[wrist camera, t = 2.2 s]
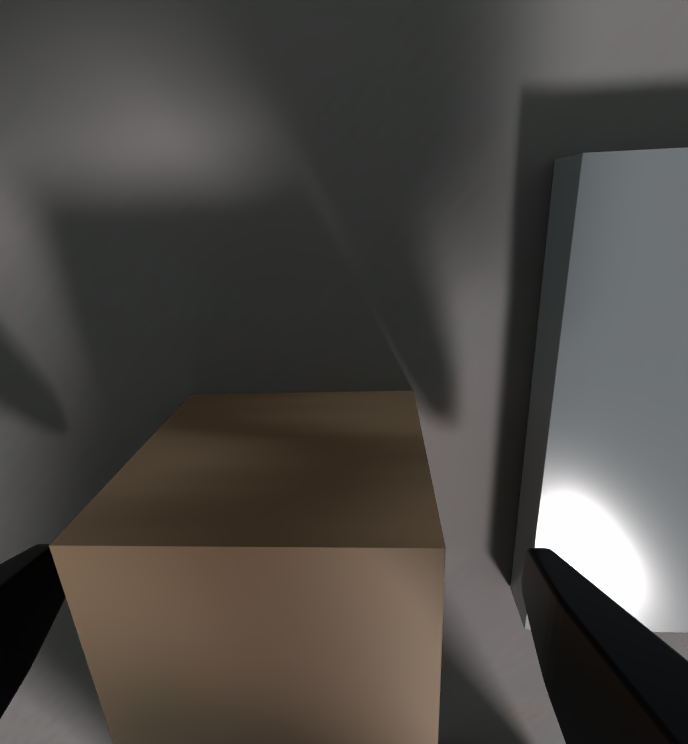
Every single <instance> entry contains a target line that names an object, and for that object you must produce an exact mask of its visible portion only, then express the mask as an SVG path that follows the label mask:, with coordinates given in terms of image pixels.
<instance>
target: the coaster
mask: <svg viewBox="0 0 688 744" xmlns="http://www.w3.org/2000/svg"><path fill="white" fill-rule="evenodd" d="M528 548H549V549H551V550H553V551H554V552H555V553H556V554H558V555H559V556H560V557H561V558H562V559H564V560H565V561H566V562H567V563H569V564H570V565H571V566H572V567H574V568H575V569H576V570H577V571H578V572H580V573H581V574H582V575H583V576H585V577H586V578H587V579H588V580H589V581H591V582H592V583H593V584H594V585H596V586H597V587H598V588H599V589H600V590H602V591H603V592H604V593H605V594H607V595H608V596H609V597H610V598H611V599H613V600H614V601H615V602H616V603H618V604H619V605H620V606H621V607H622V608H624V609H625V610H626V611H627V612H629V613H630V614H631V615H632V616H633V617H635V618H636V619H637V620H638V621H640V622H641V623H642V624H643V625H644V626H646V627H647V628H648V629H649V630H651V631H652V632H688V147H686V148H667V149H648V150H628V151H609V152H590V153H580V154H576V155H571V156H567V157H562V158H557V159H555V163H554V172H553V182H552V192H551V201H550V211H549V221H548V230H547V240H546V250H545V259H544V269H543V279H542V288H541V298H540V308H539V317H538V327H537V337H536V346H535V356H534V366H533V375H532V385H531V395H530V404H529V414H528V424H527V433H526V443H525V453H524V462H523V472H522V482H521V491H520V501H519V511H518V520H517V530H516V540H515V549H514V559H513V569H512V578H511V588H510V589H511V591H512V594H513V597H514V600H515V603H516V606H517V609H518V611H519V614H520V617H521V620H522V623H523V626H524V629H531V628H530V624H529V620H528V616H527V612H526V608H525V604H524V600H523V596H522V589H521V580H522V571H523V563H524V555H525V551H526V550H527V549H528Z"/></svg>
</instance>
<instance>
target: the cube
mask: <svg viewBox="0 0 688 744" xmlns="http://www.w3.org/2000/svg"><path fill="white" fill-rule="evenodd" d="M49 547H50V550H51V554H52V557H53V560H54V563H55V566H56V569H57V572H58V575H59V578H60V581H61V584H62V587H63V590H64V593H65V596H66V599H67V603H68V606H69V609H70V612H71V615H72V618H73V621H74V624H75V627H76V630H77V633H78V636H79V639H80V642H81V645H82V649H83V652H84V655H85V658H86V661H87V664H88V667H89V670H90V673H91V676H92V679H93V682H94V685H95V688H96V691H97V695H98V698H99V701H100V704H101V707H102V710H103V713H104V716H105V719H106V722H107V725H108V728H109V731H110V734H111V737H112V741H113V744H438V730H439V704H440V679H441V654H442V628H443V603H444V577H445V552H446V548H445V543H444V538H443V533H442V528H441V523H440V518H439V514H438V509H437V504H436V499H435V494H434V489H433V484H432V479H431V475H430V470H429V465H428V460H427V455H426V450H425V445H424V440H423V436H422V431H421V426H420V421H419V416H418V411H417V406H416V401H415V397H414V392H413V390H408V391H350V392H293V393H235V394H191V395H190V396H189V397H188V398H187V399H186V400H185V401H184V402H183V403H182V404H181V405H180V407H179V408H178V409H177V410H176V411H175V412H174V413H173V414H172V415H171V416H170V417H169V418H168V419H167V420H166V421H165V422H164V424H163V425H162V426H161V427H160V428H159V429H158V430H157V431H156V432H155V433H154V434H153V435H152V436H151V437H150V438H149V440H148V441H147V442H146V443H145V444H144V445H143V446H142V447H141V448H140V449H139V450H138V451H137V452H136V453H135V454H134V455H133V457H132V458H131V459H130V460H129V461H128V462H127V463H126V464H125V465H124V466H123V467H122V468H121V469H120V470H119V471H118V473H117V474H116V475H115V476H114V477H113V478H112V479H111V480H110V481H109V482H108V483H107V484H106V485H105V486H104V487H103V488H102V490H101V491H100V492H99V493H98V494H97V495H96V496H95V497H94V498H93V499H92V500H91V501H90V502H89V503H88V504H87V506H86V507H85V508H84V509H83V510H82V511H81V512H80V513H79V514H78V515H77V516H76V517H75V518H74V519H73V520H72V521H71V523H70V524H69V525H68V526H67V527H66V528H65V529H64V530H63V531H62V532H61V533H60V534H59V535H58V536H57V537H56V539H55V540H54V541H53V542H52V543H51V544H50V545H49Z"/></svg>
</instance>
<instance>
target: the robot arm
mask: <svg viewBox="0 0 688 744" xmlns="http://www.w3.org/2000/svg"><path fill="white" fill-rule="evenodd" d="M49 545H50V544H38V545H35V546H33V547H31V548H29V549H28V550H26V551H24V552H22V553H20V554H18V555H16V556H15V557H13V558H11V559H9V560H7V561H5V562H3V563H2V564H0V719H1V717H2V715H3V714H4V712H5V710H6V709H7V707H8V705H9V704H10V702H11V700H12V699H13V697H14V695H15V694H16V692H17V690H18V689H19V687H20V685H21V684H22V682H23V680H24V678H25V677H26V675H27V673H28V671H29V670H30V668H31V666H32V664H33V662H34V660H35V658H36V656H37V655H38V652H39V650H40V648H41V646H42V644H43V642H44V640H45V638H46V636H47V634H48V632H49V630H50V628H51V626H52V624H53V622H54V620H55V618H56V616H57V614H58V612H59V610H60V608H61V606H62V604H63V602H64V599H65V597H66V596H65V593H64V590H63V587H62V584H61V581H60V578H59V575H58V572H57V569H56V566H55V563H54V560H53V557H52V554H51V550H50V547H49ZM521 589H522V596H523V600H524V604H525V608H526V612H527V616H528V620H529V624H530V628H531V632H532V636H533V640H534V644H535V648H536V652H537V656H538V660H539V664H540V668H541V672H542V676H543V679H544V683H545V686H546V689H547V692H548V695H549V698H550V701H551V703H552V706H553V709H554V712H555V714H556V717H557V720H558V723H559V726H560V728H561V731H562V734H563V737H564V739H565V742H566V744H688V661H687V660H686V659H685V658H684V657H682V656H681V655H680V654H679V653H678V652H676V651H675V650H674V649H673V648H671V647H670V646H669V645H668V644H666V643H665V642H664V641H663V640H662V639H660V638H659V637H658V636H657V635H655V634H654V633H653V632H652V631H651V630H649V629H648V628H647V627H646V626H644V625H643V624H642V623H641V622H640V621H638V620H637V619H636V618H635V617H633V616H632V615H631V614H630V613H629V612H627V611H626V610H625V609H624V608H622V607H621V606H620V605H619V604H618V603H616V602H615V601H614V600H613V599H611V598H610V597H609V596H608V595H607V594H605V593H604V592H603V591H602V590H600V589H599V588H598V587H597V586H596V585H594V584H593V583H592V582H591V581H589V580H588V579H587V578H586V577H585V576H583V575H582V574H581V573H580V572H578V571H577V570H576V569H575V568H574V567H572V566H571V565H570V564H569V563H567V562H566V561H565V560H564V559H562V558H561V557H560V556H559V555H558V554H556V553H555V552H554V551H553V550H551V549H549V548H528V549H527V550H526V551H525V555H524V563H523V571H522V580H521Z"/></svg>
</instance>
